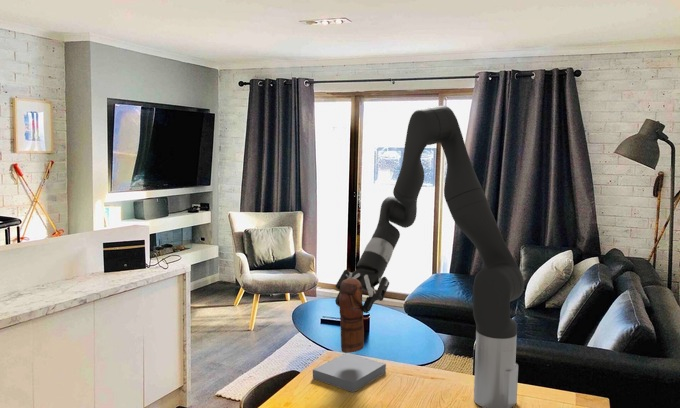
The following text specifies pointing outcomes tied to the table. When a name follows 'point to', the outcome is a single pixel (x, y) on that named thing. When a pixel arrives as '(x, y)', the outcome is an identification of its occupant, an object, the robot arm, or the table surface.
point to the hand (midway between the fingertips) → (350, 308)
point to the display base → (349, 371)
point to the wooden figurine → (351, 316)
